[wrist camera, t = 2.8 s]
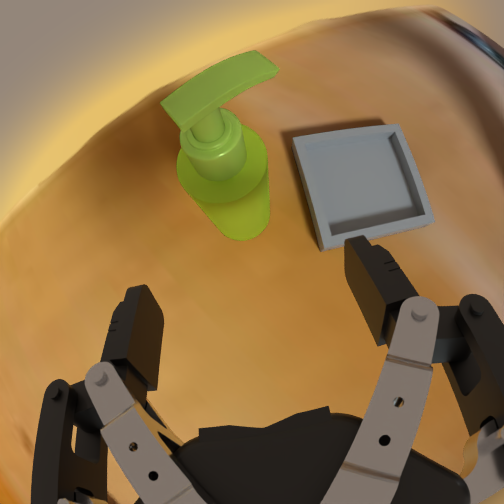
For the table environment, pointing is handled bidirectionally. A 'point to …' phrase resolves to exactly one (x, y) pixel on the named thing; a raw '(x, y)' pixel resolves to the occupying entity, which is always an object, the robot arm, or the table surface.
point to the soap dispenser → (223, 146)
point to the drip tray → (361, 184)
